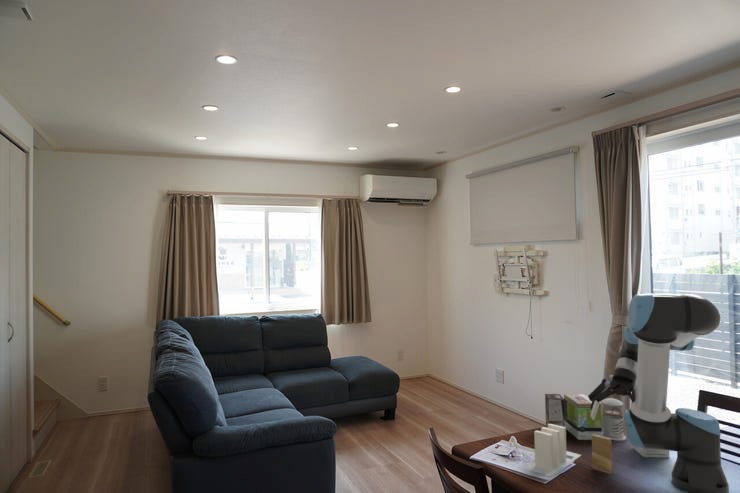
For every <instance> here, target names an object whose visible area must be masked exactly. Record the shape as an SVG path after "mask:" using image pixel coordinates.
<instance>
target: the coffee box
mask: <svg viewBox="0 0 740 493" xmlns="http://www.w3.org/2000/svg"><path fill="white" fill-rule="evenodd" d="M544 405H545V406H544V410H545V411H544V412H545V427H546V428H548V424H554V425H558V426H562V427H565V411H564V396H562V395H561V394H560V393H544Z"/></svg>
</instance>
